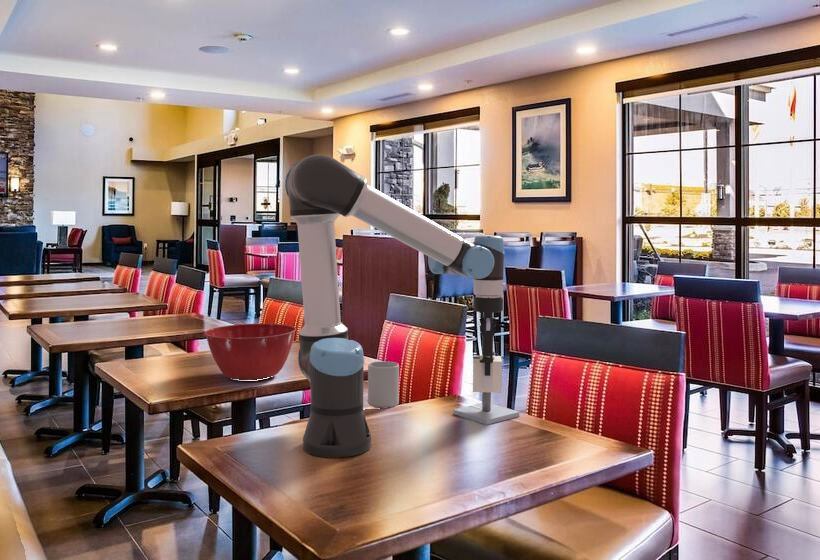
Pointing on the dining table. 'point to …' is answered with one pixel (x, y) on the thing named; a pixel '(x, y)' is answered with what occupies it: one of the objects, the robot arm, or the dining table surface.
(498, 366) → the cube with square hole
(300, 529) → the dining table surface
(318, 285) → the robot arm
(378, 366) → the mug
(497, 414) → the plate
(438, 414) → the dining table surface
